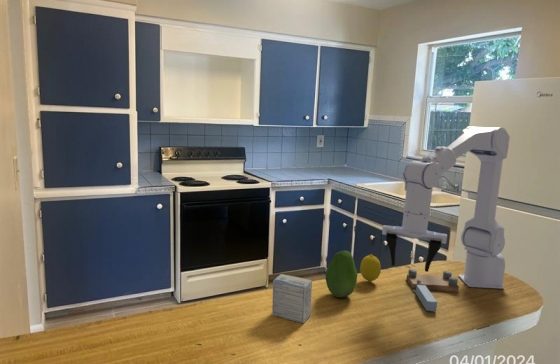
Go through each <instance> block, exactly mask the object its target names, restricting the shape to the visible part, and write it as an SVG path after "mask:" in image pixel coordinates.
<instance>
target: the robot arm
mask: <svg viewBox="0 0 560 364" xmlns="http://www.w3.org/2000/svg"><path fill="white" fill-rule="evenodd" d="M509 143H510V134H509V133H508V131H507V129H506V128H504V127H501V126H499V127H489V126H488V127H487V126H485V127H484V126H474V125H473V126H472V125H469V126H466V128H464V129H462V130H461V133H460V136H459V137H458V138H456V139H455V140H454V141H453V142H452V143H450V144H449V145H448V146H441V145H439V146H436V147H435V148H434V150H432V152H430V153H429V154H427V155H424V156H422V158H421V159H420V160H418V161H417V160H413V161H411V162H409V163H408V164H407V165H406V166H405V167H404V171H402V180H403V182H404V188H403V189H404V191H405V198H404V206H403V216H402V224H401V226H398V225H396V226H395V225H385V224H384V225H382V229H381V230H382V231H381V235H384V236H386V237H385V240H386V243H387V245H388V249H389V254H390V259H391V260H390V261H391V266H392V267H395V264H396V253H397V252H396V251H397V250H396V249H397V242H398V241H397V240H398V237H401V238H402V237H403V238H409V239H416V240H422V241H428V245H427V246H428V247H427V255H426V259H425V265H424V271H425V272H426V273H428V272H429V270H430V267H431V265H432V261H433V260H434V258H435V257H436V255H437V253H438V252H439V251H440V249H441V248H442V244H444V245H446V244H447V239H448V234H447V233H441V232H436V231H431V230H428V226H429V219H430V211H431V210H430V209H431V203H432V195H433V188H434V187H437V185H438V184H439V182H440V179H441V178H442V177H443V175H444V174H445V173H446V172H448V171H449V170H450V169H452V168H454V166H456V163H457V159H459V158H460V157H462V156H463V155H465V154H466V153H468V152H469V153H471V154H472V155H474V156H476V157H477V159H478V160H479V161H480V169H479V173H478V174H479V177H478V183H477V189H476V190H477V191H476V198H475V199H476V200H475V207H474V215H473V217H472V218H470V219H468V220H466V221H465V223H464V227H463V230H462V232H461V235H460V240H461V244H462V245H463V246H464V250H465V251H466V257H465V264H464V272H463V273H464V274H458V277H459V278H460V279H461V280H462V281H463V282H464V283H465V284H466V286H468V288H469V287H470V288H481V289H482V288H484V289H500V290H501V289H504V288H505V287H504V285H503V284H504V279H505V278H504V276H505V269H506V261H505V257H504V255H502V252H503V250H504V248H505V245H506V239H505V228H504V227H503V226H502V225H501V224H500V222H498V221H497V219H496V213H497V206H498V197H499V191H500V183H501V175H502V169H503V161H504V160H505V159H507V157H508V152H509Z"/></svg>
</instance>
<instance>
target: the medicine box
mask: <svg viewBox="0 0 560 364" xmlns="http://www.w3.org/2000/svg"><path fill="white" fill-rule="evenodd" d="M312 285H313V280H311V279H308V278H304V277H303V278H302V277H299V276H295V275H293V276H292V275H288V274H284V273H283V274H282V273H280V274H279V275H278V276H277V277H276V278H274V279H273V281H272V305H271V306H272V308H271V315H272V316H273V315H275V316H274V317H277V316H279V317H278V318H281V317H282V318H281V319H286V320H289V321H294V322H298V323H302V324H305V323H306V321H307V320H308V319H309V318H310V316H311V315H312V313H311V311H312V293H313V292H312V289H313V288H312V287H313V286H312Z"/></svg>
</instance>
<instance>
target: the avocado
mask: <svg viewBox="0 0 560 364" xmlns="http://www.w3.org/2000/svg"><path fill="white" fill-rule="evenodd" d="M325 282H326V286H327V288H328V291H329V293H330V294H332V295H333V296H334V297H336V298H340V299H341V298H342V299H343V298H347V297H348V296H350V295H352V294H353V292H354V291H355V288H356V285H357V282H358V272H357V268H356V264H355V260H354V257H353V255H352V253H351V252H350V251H348V250H341V251H338V252H336V253H335V254H334V256H333V257H332V258H331V260H330V262H329V263H328V266H327V268H326V270H325Z"/></svg>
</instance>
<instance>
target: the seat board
mask: <svg viewBox="0 0 560 364" xmlns="http://www.w3.org/2000/svg"><path fill="white" fill-rule="evenodd" d="M407 273H408V274H406V281H407V283H408V284H409V286H410V287H411V289H412V290H413V289H414V288H416V285H417V280H418V279H419V280H421V285H425V286H426V287H427V288H428V290H429V291H439V292H441V291H442V292H456V293H457V292H459V286H460V285H458V278H457V277H453V276H452V275H453V274H452V272H451V271H447V270H444V271H442V275H425V274H418V271H417V270H416V269H414V268H413V269H411V268H409V269H408V272H407Z"/></svg>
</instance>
